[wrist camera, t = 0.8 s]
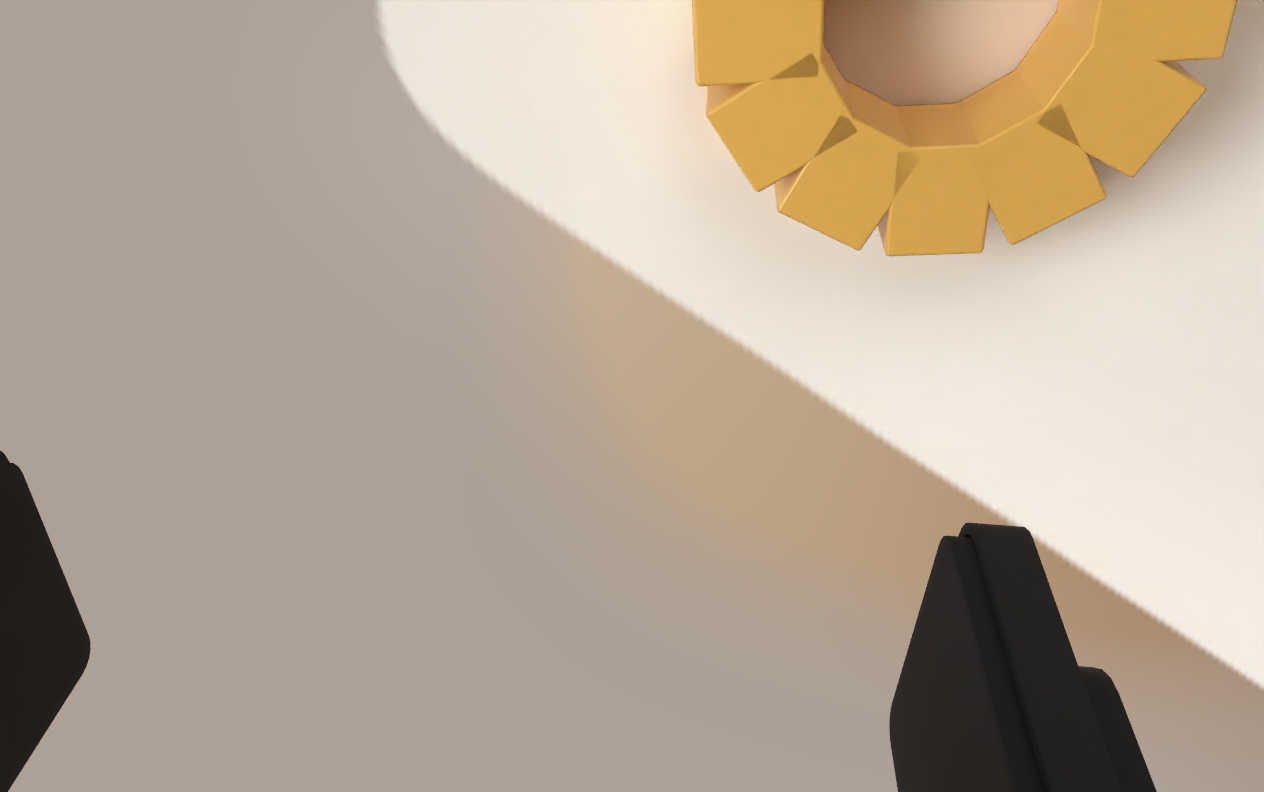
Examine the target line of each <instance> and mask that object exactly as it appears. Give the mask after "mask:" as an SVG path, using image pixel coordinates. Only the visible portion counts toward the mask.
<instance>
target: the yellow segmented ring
mask: <svg viewBox="0 0 1264 792" xmlns="http://www.w3.org/2000/svg"><path fill="white" fill-rule="evenodd" d="M824 1H825V0H692V8H693V31H694V54H695V77H696V84H697V85H698V86H707V107H706V115H707V118H708V119H709V121H710V122H711V124H712V126H713V127H714V129H715V130H716V132H717V133H718V135H719V136H720V138H721V139H722V141H723V142H724V144H725V145H726V147H727V149H728V150H729V152H730V153H731V155H732V156H733V158H734V159H735V161H736V162H737V164H738V165H739V167H740V168H741V170H742V172H743V173H744V175H745V176H746V178H747V179H748V181H749V182H750V184H751V185H752V187H753V188H754V190H755V191H757V192H760V191H762V190H763V189H765V188H767V187H769V186H770V185H772V184H774V183H775V192H776V202H777V211H778V212H780V213H782V214H784V215H786V216H788V217H790V218H792V219H794V220H796V221H798V222H800V223H802V224H804V225H806V226H809V227H811V228H813V229H815V230H817V231H819V232H821V233H823V234H825V235H827V236H829V237H831V238H833V239H835V240H837V241H839V242H841V243H843V244H846V245H848V246H850V247H852V248H854V249H856V250H860V249H861V248H862V247H863V245H864V244H865V242H866V241H867V240H868V238H869V237H870V235H871V234H872V232H873V231H874V229H875V228H876V227H877V225H878V229H879V232H880V236H881V239H882V243H883V247H884V250H885V253H886V255H887V256H907V255H936V254H964V253H981V252H982V251H983V249H984V242H985V234H986V226H987V219H988V211H989V205H990V207H991V209H992V211H993V213H994V215H995V217H996V219H997V221H998V223H999V224H1000V226H1001V228H1002V230H1003V232H1004V234H1005V236H1006V238H1007V240H1008V242H1009V243H1010V244H1011V245H1014V244H1016V243H1018V242H1020V241H1022V240H1024V239H1026V238H1028V237H1030V236H1032V235H1034V234H1036V233H1038V232H1040V231H1042V230H1044V229H1046V228H1048V227H1050V226H1052V225H1054V224H1056V223H1058V222H1060V221H1062V220H1064V219H1066V218H1068V217H1070V216H1072V215H1074V214H1076V213H1078V212H1080V211H1082V210H1084V209H1086V208H1088V207H1090V206H1092V205H1094V204H1096V203H1098V202H1100V201H1102V200H1104V199H1105V198H1106V193H1105V191H1104V189H1103V186H1102V184H1101V182H1100V180H1099V178H1098V175H1097V173H1096V171H1095V169H1094V167H1093V165H1092V162H1091V160H1090V158H1089V156H1088V155H1090V156H1092V157H1094V158H1096V159H1098V160H1099V161H1101V162H1103V163H1105V164H1107V165H1109V166H1111V167H1112V168H1114V169H1116V170H1118V171H1120V172H1122V173H1124V174H1126V175H1127V176H1129V177H1133V176H1135V174H1136V173H1137V172H1138V171H1139V170H1140V168H1141V167H1142V166H1143V165H1144V164H1145V162H1146V161H1147V160H1148V159H1149V158H1150V156H1151V155H1152V154H1153V153H1154V152H1155V150H1156V149H1157V148H1158V147H1159V146H1160V145H1161V143H1162V142H1163V141H1164V140H1165V139H1166V137H1167V136H1168V135H1169V134H1170V133H1171V131H1172V130H1173V129H1174V128H1175V127H1176V125H1177V124H1178V123H1179V122H1180V121H1181V119H1182V118H1183V117H1184V116H1185V115H1186V113H1187V112H1188V111H1189V110H1190V109H1191V107H1192V106H1193V105H1194V104H1195V103H1196V101H1197V100H1198V99H1199V98H1200V97H1201V95H1202V94H1203V93H1204V92H1205V90H1206V88H1205V86H1204V85H1203V84H1201V83H1200V82H1199V81H1198V80H1197V79H1196V78H1194V77H1193V76H1192V75H1191V74H1190V73H1189V72H1187V71H1186V70H1185V69H1184V68H1183V67H1182V66H1180V65H1179V64H1178V63H1177V62H1176V61H1179V60H1198V59H1216V58H1221V57H1222V56H1223V54H1224V50H1225V46H1226V43H1227V39H1228V35H1229V31H1230V27H1231V23H1232V19H1233V15H1234V11H1235V7H1236V3H1237V0H1058V6H1057V12H1056V13H1055V15H1054V16H1053V18H1052V19H1051V20H1050V22H1049V23H1048V25H1047V26H1046V28H1045V29H1044V30H1043V32H1042V33H1041V35H1040V36H1039V37H1038V39H1037V40H1036V42H1035V43H1034V44H1033V46H1032V47H1031V49H1030V50H1029V51H1028V53H1027V54H1026V56H1025V57H1024V58H1023V60H1022V61H1021V63H1020V64H1019V65H1018V67H1017V68H1016V70H1014V71H1013V72H1011V73H1009V74H1007V75H1006V76H1004V77H1002V78H1000V79H999V80H997V81H995V82H993V83H992V84H990V85H988V86H986V87H985V88H983V89H981V90H979V91H978V92H976V93H974V94H972V95H970V96H969V97H967V98H965V99H963V100H962V101H960V102H958V103H953V104H933V105H914V106H894V105H892V104H890V103H889V102H887V101H885V100H883V99H881V98H879V97H877V96H875V95H873V94H871V93H869V92H868V91H866V90H864V89H862V88H860V87H858V86H856V85H854V84H852V83H850V82H848V81H847V80H845V79H843V77H842V75H841V73H840V72H839V70H838V68H837V66H836V65H835V63H834V61H833V59H832V58H831V56H830V54H829V52H828V50H827V49H826V47H825V45H824V43H823V36H824Z"/></svg>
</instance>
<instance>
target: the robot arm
mask: <svg viewBox="0 0 1264 792" xmlns="http://www.w3.org/2000/svg"><path fill="white" fill-rule="evenodd" d="M89 654H90V639H89V635H88V633H87V630H86V628H85V625H84V623H83V621H82V618H81V615H80V613H79V610H78V608H77V605H76V603H75V601H74V598H73V596H72V593H71V591H70V588H69V586H68V583H67V581H66V579H65V576H64V574H63V571H62V569H61V566H60V564H59V561H58V559H57V556H56V554H55V551H54V549H53V547H52V544H51V542H50V539H49V537H48V534H47V532H46V529H45V527H44V525H43V522H42V520H41V517H40V515H39V512H38V510H37V507H36V505H35V503H34V500H33V497H32V495H31V493H30V490H29V488H28V485H27V483H26V480H25V478H24V475H23V473H22V472H21V470H20V468H19V467H18V466H16V465H15V464H14V463H10V462H9V461H8V459H7V457H6V456H5V454H4V453H3V452H1V451H0V792H8V790H9V789H10V787H11V786H12V784H13V783H14V781H15V779H16V778H17V776H18V775H19V773H20V771H21V770H22V768H23V767H24V765H25V764H26V762H27V760H28V759H29V757H30V756H31V754H32V753H33V751H34V750H35V748H36V746H37V745H38V743H39V742H40V740H41V739H42V737H43V735H44V734H45V732H46V731H47V729H48V727H49V726H50V724H51V723H52V721H53V720H54V718H55V716H56V715H57V713H58V712H59V710H60V709H61V707H62V705H63V704H64V702H65V701H66V699H67V698H68V696H69V694H70V693H71V691H72V690H73V688H74V687H75V685H76V683H77V682H78V680H79V679H80V677H81V676H82V674H83V672H84V670H85V668H86V666H87V663H88V660H89ZM890 742H891V749H892V755H893V761H894V768H895V775H896V781H897V787H898V792H1156V789H1155V787H1154V784H1153V781H1152V779H1151V776H1150V774H1149V771H1148V768H1147V766H1146V763H1145V760H1144V758H1143V755H1142V753H1141V750H1140V747H1139V745H1138V742H1137V740H1136V737H1135V734H1134V732H1133V729H1132V727H1131V724H1130V721H1129V719H1128V717H1127V714H1126V711H1125V708H1124V706H1123V703H1122V701H1121V698H1120V695H1119V693H1118V691H1117V689H1116V687H1115V685H1114V683H1113V681H1112V679H1111V678H1110V677H1109V676H1108V675H1107V674H1106V673H1105V672H1104V671H1103V670H1102V669H1097V668H1094V667H1082V666H1078V665H1077V662H1076V659H1075V656H1074V653H1073V650H1072V647H1071V645H1070V642H1069V639H1068V636H1067V633H1066V631H1065V628H1064V625H1063V622H1062V619H1061V616H1060V614H1059V611H1058V608H1057V606H1056V602H1055V600H1054V597H1053V594H1052V591H1051V588H1050V586H1049V583H1048V581H1047V577H1046V574H1045V571H1044V569H1043V566H1042V563H1041V560H1040V557H1039V555H1038V552H1037V549H1036V546H1035V543H1034V540H1033V538H1032V536H1031V534H1030V532H1029V530H1027V529H1026V528H1025V527H1017V526H1004V525H991V524H978V523H965V525H964V526H963V527H962V528H961V531H960V534H959V536H958V537H956V536H944V537H943V538H942V539H941V541H940V544H939V547H938V550H937V554H936V557H935V560H934V564H933V567H932V570H931V574H930V577H929V581H928V584H927V587H926V591H925V594H924V598H923V601H922V604H921V608H920V611H919V614H918V618H917V621H916V624H915V628H914V631H913V634H912V638H911V641H910V645H909V648H908V651H907V655H906V658H905V661H904V665H903V668H902V672H901V675H900V678H899V682H898V685H897V689H896V692H895V695H894V699H893V702H892V706H891V712H890Z"/></svg>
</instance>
